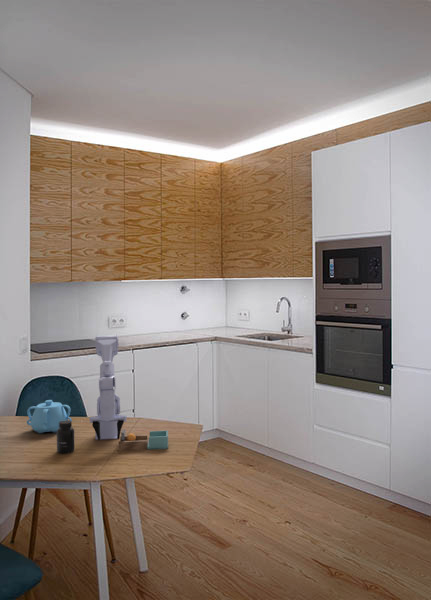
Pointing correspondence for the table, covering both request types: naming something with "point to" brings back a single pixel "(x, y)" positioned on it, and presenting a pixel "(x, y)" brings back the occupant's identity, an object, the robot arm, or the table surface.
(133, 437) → the ball
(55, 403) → the decorative pot
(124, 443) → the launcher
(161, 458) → the table surface
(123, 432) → the plunger
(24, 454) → the table surface
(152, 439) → the teal open box
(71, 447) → the supplement bottle
